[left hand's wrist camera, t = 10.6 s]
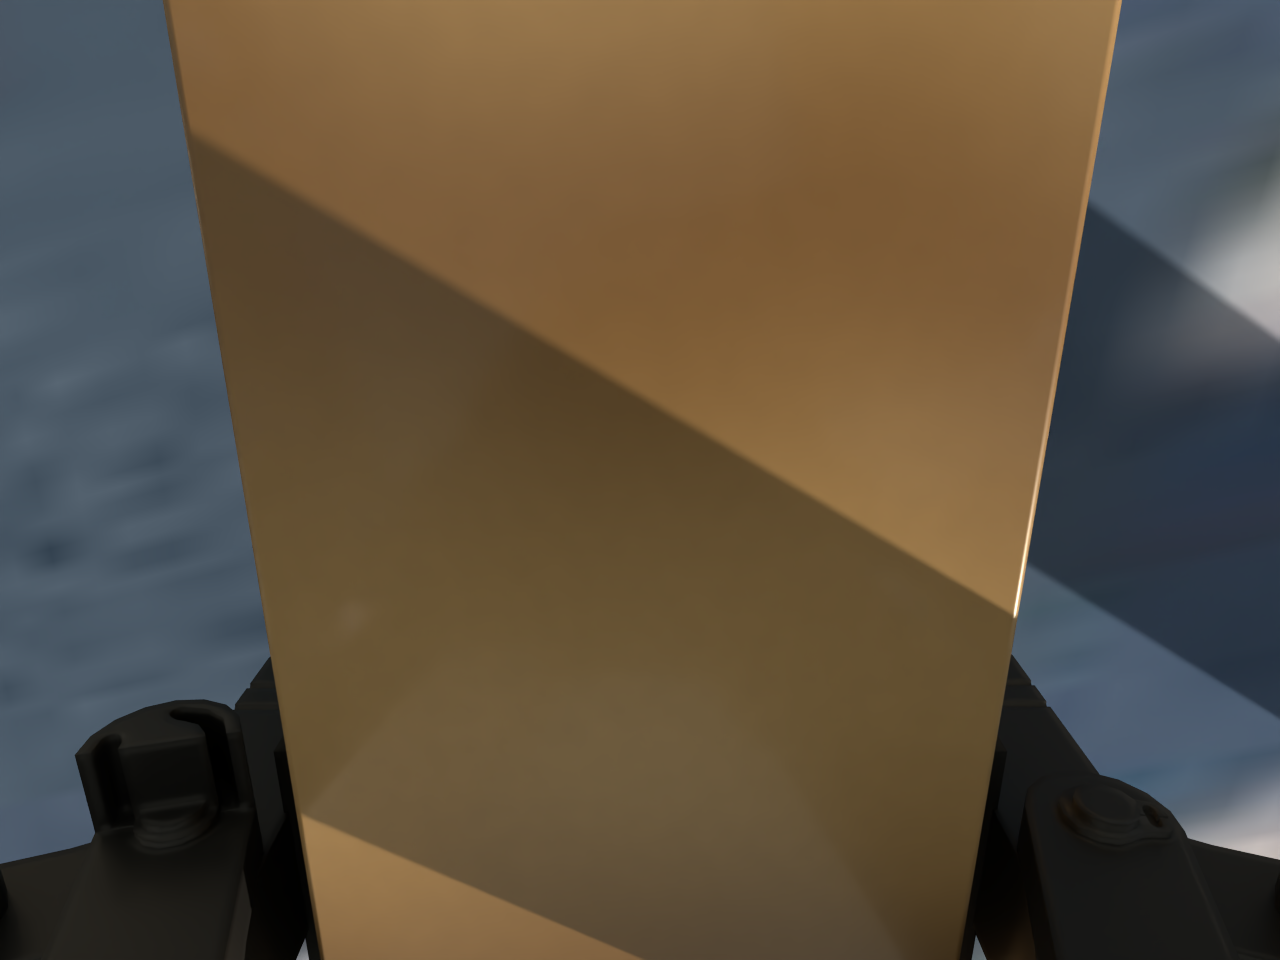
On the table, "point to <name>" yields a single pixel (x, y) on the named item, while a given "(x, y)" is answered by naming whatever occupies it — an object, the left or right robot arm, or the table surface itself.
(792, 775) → the bar
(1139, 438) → the table surface
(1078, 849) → the left robot arm
